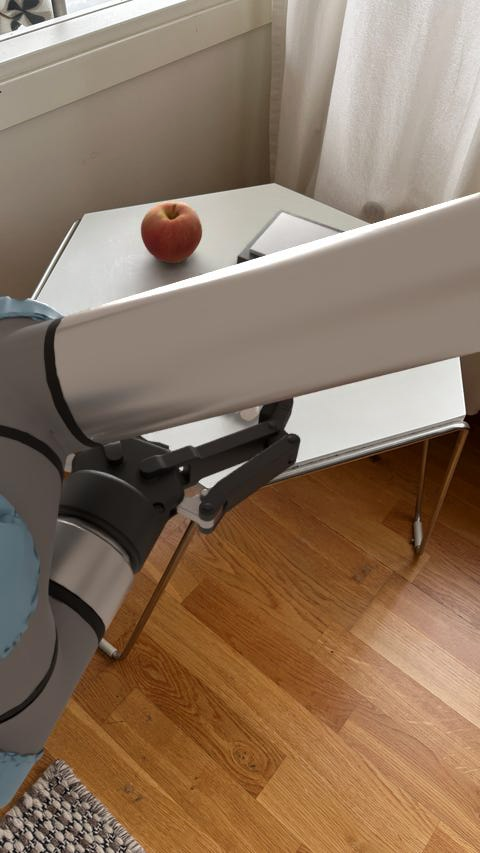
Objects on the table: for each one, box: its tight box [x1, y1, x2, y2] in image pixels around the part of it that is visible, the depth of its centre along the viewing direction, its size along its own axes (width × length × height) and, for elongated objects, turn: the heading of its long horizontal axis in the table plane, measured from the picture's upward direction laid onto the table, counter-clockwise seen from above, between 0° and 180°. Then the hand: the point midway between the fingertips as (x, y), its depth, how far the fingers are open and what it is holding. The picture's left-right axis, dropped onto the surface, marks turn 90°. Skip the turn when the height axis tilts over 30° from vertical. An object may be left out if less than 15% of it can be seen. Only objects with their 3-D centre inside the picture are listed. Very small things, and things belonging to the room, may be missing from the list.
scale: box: [236, 208, 346, 265], centre depth 96 cm, size 14×13×3 cm
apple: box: [140, 201, 203, 264], centre depth 93 cm, size 8×8×8 cm
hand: (213, 344), depth 59 cm, fingers open, 13 cm apart
